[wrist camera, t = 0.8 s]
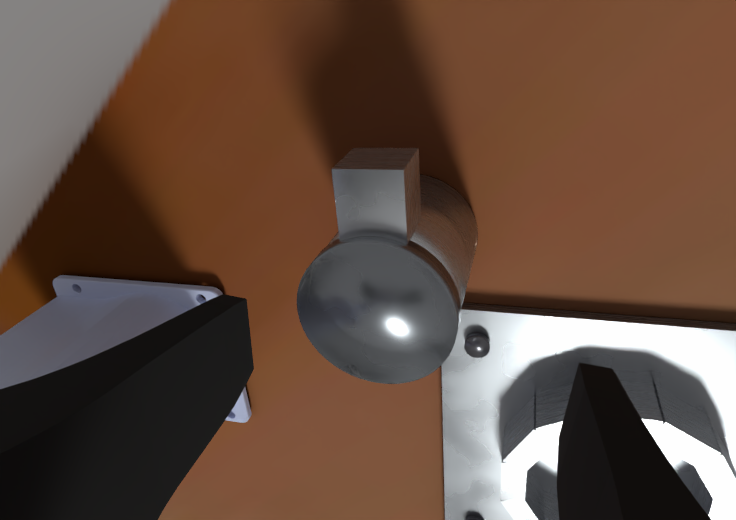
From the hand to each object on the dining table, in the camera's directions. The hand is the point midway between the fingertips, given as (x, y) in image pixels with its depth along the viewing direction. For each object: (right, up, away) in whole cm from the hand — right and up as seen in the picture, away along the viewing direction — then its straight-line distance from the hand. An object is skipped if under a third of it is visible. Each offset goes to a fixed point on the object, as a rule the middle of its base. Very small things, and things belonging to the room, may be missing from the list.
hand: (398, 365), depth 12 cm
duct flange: (+10, -6, +12) cm, 16 cm away
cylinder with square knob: (+1, +3, +9) cm, 10 cm away
